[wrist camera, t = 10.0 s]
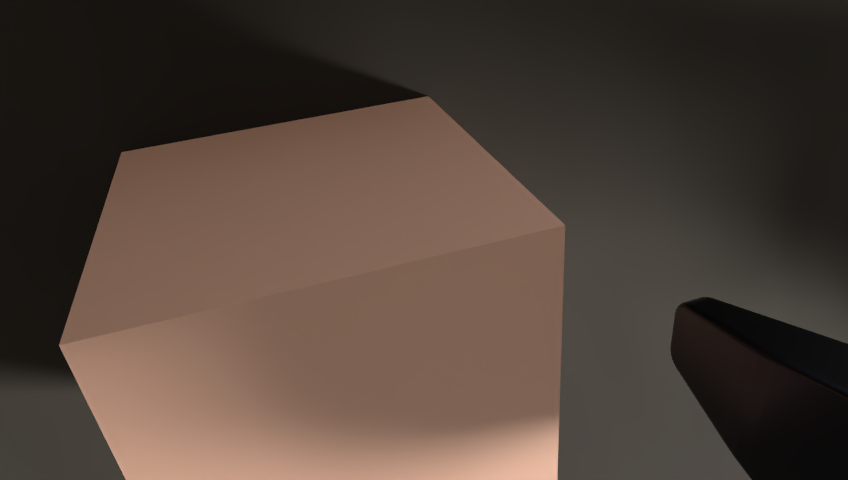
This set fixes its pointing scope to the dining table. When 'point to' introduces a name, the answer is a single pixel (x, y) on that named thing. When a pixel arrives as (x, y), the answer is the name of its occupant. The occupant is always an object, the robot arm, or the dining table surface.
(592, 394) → the dining table surface
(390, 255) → the peach block
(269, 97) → the dining table surface
